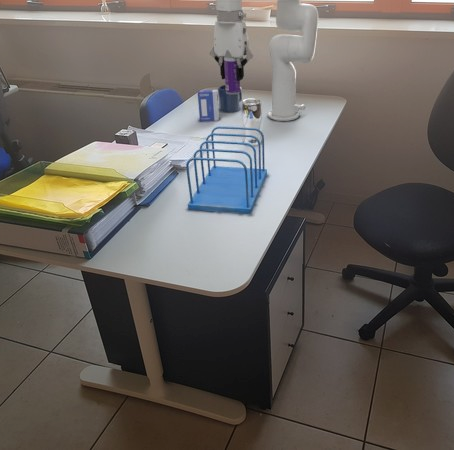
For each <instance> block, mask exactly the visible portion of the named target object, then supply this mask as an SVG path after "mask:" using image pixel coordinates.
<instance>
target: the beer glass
mask: <svg viewBox="0 0 454 450" xmlns="http://www.w3.org/2000/svg"><path fill="white" fill-rule="evenodd" d="M241 119H242V124H243V128H256V129H259V130H260V131H261V126H262V119H263V108H262V100H261V99H258V98H246V99H242V101H241ZM244 135H253V136H255V137H257V138H258V139H259V141H260V144H262V137H261V134H260V133H259V132H258V131H256V130H244ZM243 142H244V143H249V144H251V145H253V146H254V147H255V146H258V142H257V140H256V139H254V138H252V137H244V141H243Z"/></svg>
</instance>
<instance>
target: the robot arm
mask: <svg viewBox="0 0 454 450" xmlns="http://www.w3.org/2000/svg"><path fill="white" fill-rule="evenodd" d="M215 8H216V20H215V23H214V29H213V47H212V48H211V50H210V52H209V55H210V56H211V58H213V59H214V60H215V62H216V63H217V65H218V66H219V69H220V70H219V71H220V76H221V80H225V71H224V56H225V53H226V51H227V50H228V51H229V52H230V54H231V56H232V57H234V58H236V61H237V65H238V68H236V72H237V81H240V82H241V81H242V80H243V79H244V76H245V70H244V69H245V66H246V64H247V63H248V62H250V61H251V60H252V59H254V55H253V53H252V51H251V50H250V45H249V44H250V43H249V34H248V29H247V24H246V21H245V20H244V19H246V18H247V13H246V12H243V2H242V0H215ZM275 13H276V14H275V25H276V27H277V28H278V29H279V30H281V31H287V32H299V33H302V35H298V34H297V35H296V34H286V33H285V34H283V33H282V34H276V35H274V36H273V37H272V38H271V39H270V41H269V46H268V47H269V48H268V49H269V55H270V56H269V57H270V62H271V111H269V112H268V113H267V116H268V118H269V119H271V120H273V121H279V122H289V121H294V120H297V119H298V118H299V116H300V113H299V111H300V110H305V109H306V105H305V104H299V103H296V93H297V90H296V89H297V71H296V68H295V66H294V64H293V63H298V64H308V63H311V62H312V61H313V59H314V56H315V52H316V46H317V45H316V44H317V35H318V27H319V12H318V8H317V7H316V6H315V5H313V4H311V3H301V0H277V1H276V11H275ZM244 56H245V57H244Z"/></svg>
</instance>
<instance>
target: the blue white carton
mask: <svg viewBox="0 0 454 450" xmlns="http://www.w3.org/2000/svg"><path fill="white" fill-rule="evenodd" d="M197 102H198V114H199V122H215V121H217V122H219V121H220V110H219V96H218V89H207V90H206V89H205V90H203V89H201V90H197Z"/></svg>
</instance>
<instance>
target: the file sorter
mask: <svg viewBox="0 0 454 450" xmlns="http://www.w3.org/2000/svg"><path fill="white" fill-rule="evenodd" d="M218 129H219V130H220V129H221V130H243V131H245V130H256V131H258V132H259V133H260V137H261V143H260V141H259V139H258V138H257V137H255V136H253V135H245V134H240V133H223V132H222V133H219V132H218V133H217V132H215V131H216V130H218ZM214 136H215V137H216V136H217V137H237V138H238V137H239V138H240V137H241V138H245V137H252V138H254V139H256V140H257V142H258V145H257V146H258V164H257V149H256V148H255V146H253V145H251V144H249V143H244V141H243V142H242V141H224V140H214ZM209 138H211V140H209ZM209 144H211V148H209ZM215 144H220V145H221V144H222V145H223V144H224V145H238V146H239V145H240V146H249V147H250V148H251V149H252V151H253V158H252V156H251V154H249V152H247V151H246V150H245V151H244V150H236V149H217V148H215ZM204 145H205V148H203V146H204ZM261 151H262V152H261ZM203 152H206V157H203ZM210 152H212V157H210ZM215 152H216V153H230V154H231V153H232V154H243V155H246V157H248V159H249V167H247V166H246V164H245V163H244V162H243V161H241V160H239V159H231V158H216V153H215ZM198 153H199V157H197V154H198ZM261 153H262V154H261ZM261 156H262V157H261ZM197 161H200V166H201V167H200V168H201V176H202V177H201V178H202V181H201V183H200V185H199V176H198V168H197V167H198V166H197ZM204 161H206V162H207V174H206V176H205V169H204V168H205V167H204ZM191 162H193V165H194V176H195V183H196V191H195V192H194V194H193V192H192V184H191V176H190V175H191V174H190V168H189V165H190V163H191ZM210 162H213V166H212V167H211V164H210ZM216 162H225V163H226V162H228V163H238V164H239V165H242V167H236V166H235V167H234V166H219V165H217V163H216ZM253 162H254V168H253ZM257 165H258V167H257ZM185 168H186V178H187V184H188V192H189V193H188V194H189V202H188V203H187V209H188V210H191V211H204V212H205V211H206V212H217V213H219V212H220V213H232V214H245V215H251V214H252V212H253V209H254V207H255V205H256V202H257V199H258V198H259V195H260V192H261V191H262V188H263V185H264V183H265V180H266V178H267V175H268V169H266V168H265V137H264V133H263V131H261V129H260V130H259V129H256V128H244V126H242V127H241V126H240V127H239V126H216V127H214V128H213V129H212V130H211V133H210V134H209V135H207V137H206V139H205V141H202V142H201V144H200V146H199V149H197V150H196V151H195V152H194V153H193V157H191V158H189V159H188V160H187V162H186V164H185Z"/></svg>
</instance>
